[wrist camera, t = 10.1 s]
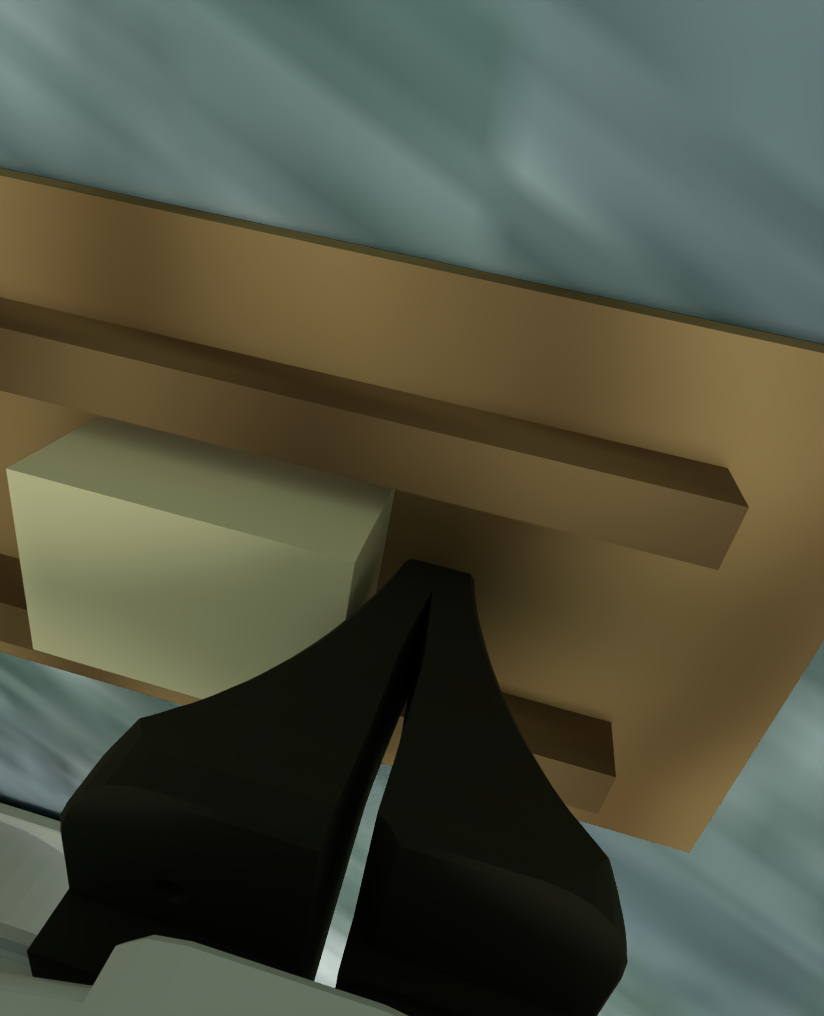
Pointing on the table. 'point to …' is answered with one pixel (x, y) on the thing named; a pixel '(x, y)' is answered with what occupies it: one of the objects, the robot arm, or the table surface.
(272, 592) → the plug
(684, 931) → the table surface
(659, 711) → the cradle
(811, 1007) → the table surface
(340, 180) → the table surface
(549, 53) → the table surface
